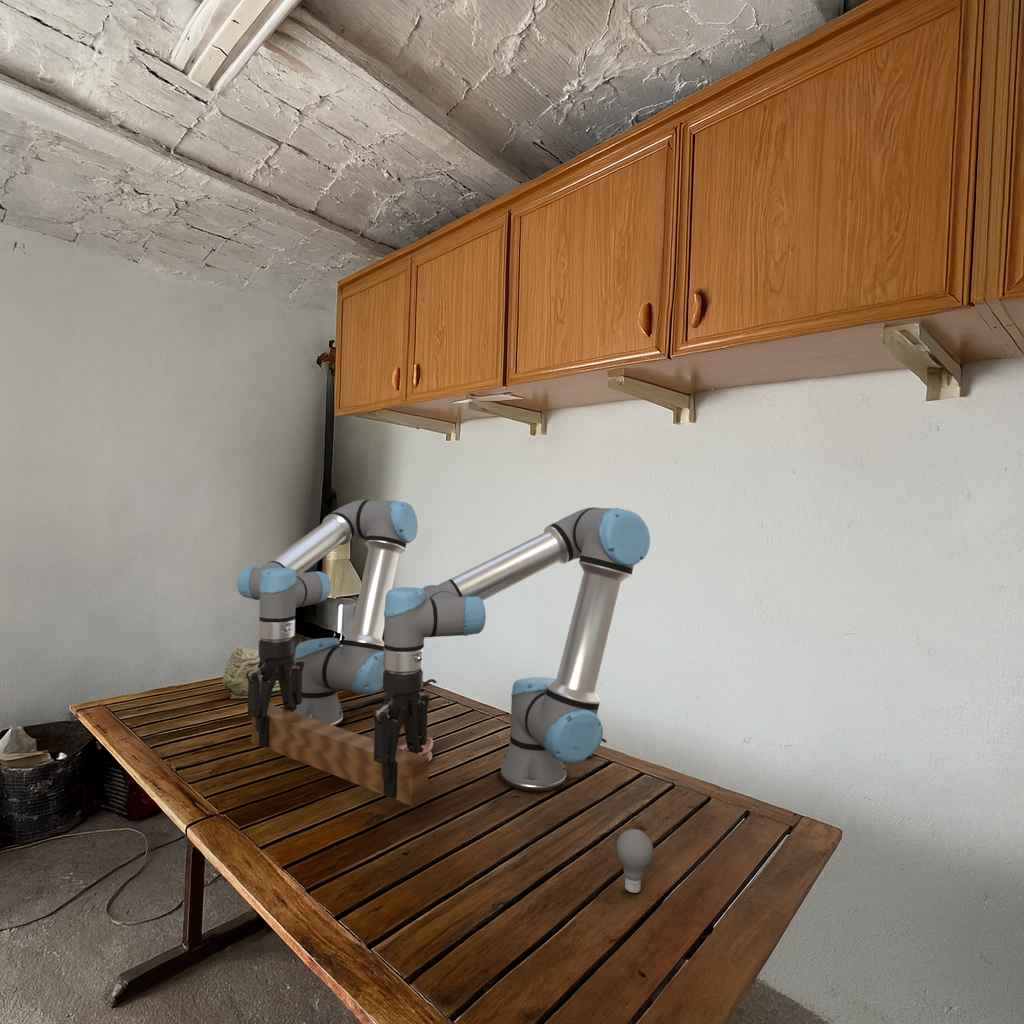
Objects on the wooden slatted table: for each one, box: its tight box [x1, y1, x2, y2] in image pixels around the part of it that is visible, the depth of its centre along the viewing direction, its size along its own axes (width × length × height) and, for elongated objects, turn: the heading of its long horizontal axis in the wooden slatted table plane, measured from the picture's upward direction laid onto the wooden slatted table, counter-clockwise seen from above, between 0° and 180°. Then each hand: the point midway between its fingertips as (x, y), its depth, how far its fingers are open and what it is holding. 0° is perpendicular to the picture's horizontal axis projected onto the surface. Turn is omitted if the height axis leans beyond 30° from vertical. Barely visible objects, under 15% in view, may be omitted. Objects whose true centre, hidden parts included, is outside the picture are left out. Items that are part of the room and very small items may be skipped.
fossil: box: [222, 646, 281, 699], centre depth 198 cm, size 9×18×15 cm, turn 132°
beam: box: [251, 704, 430, 807], centre depth 131 cm, size 47×5×7 cm, turn 58°
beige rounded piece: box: [397, 737, 434, 762], centre depth 155 cm, size 13×4×12 cm
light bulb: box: [615, 828, 654, 894], centre depth 106 cm, size 6×6×10 cm
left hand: (274, 741), depth 141 cm, fingers closed on beam, 5 cm apart
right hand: (400, 790), depth 121 cm, fingers closed on beam, 5 cm apart
